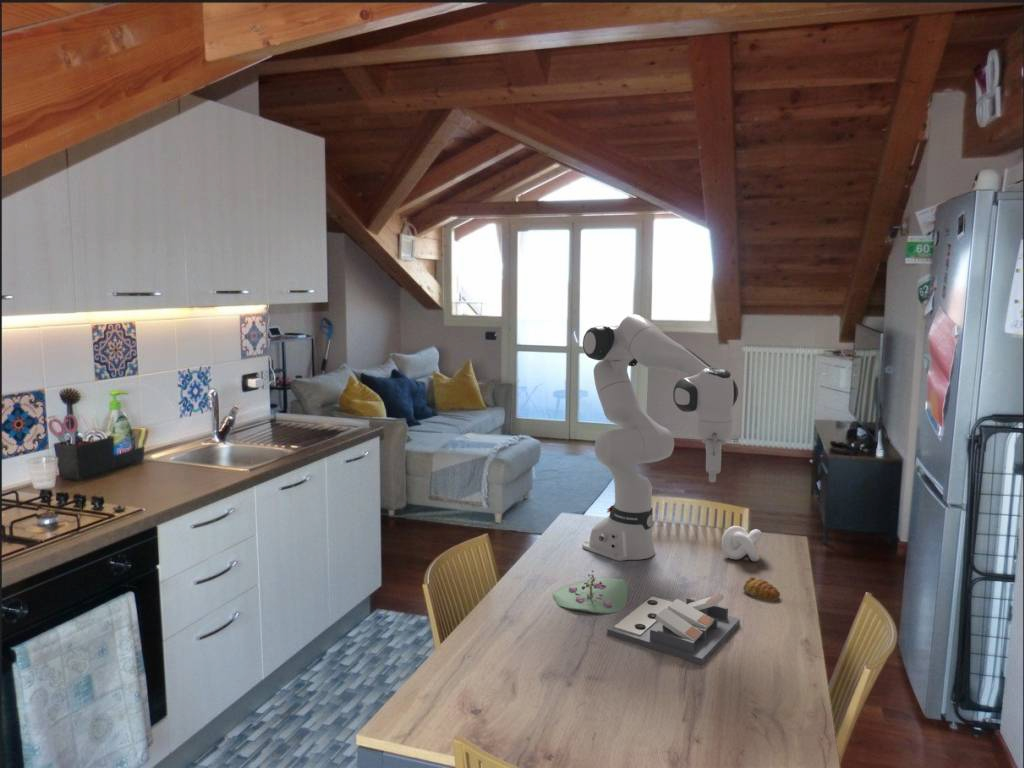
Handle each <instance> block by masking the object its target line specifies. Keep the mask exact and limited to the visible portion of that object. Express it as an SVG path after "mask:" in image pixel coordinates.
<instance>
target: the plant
mask: <svg viewBox="0 0 1024 768" xmlns="http://www.w3.org/2000/svg"><path fill="white" fill-rule="evenodd" d="M593 572H594V570H592V569H591V573H593ZM587 576H588V577H590V578H589V579H587V580H584V581H581V582H577V583H573V584H570V585H569V584H568V585H566V586H562V587H560V588H558V589H557V590H555V591H554V592H553V593H552V598H553V600H554V601H555V603H556V604H557V605H558V606H559V607H561V608H563V609H564V608H565V609H568V610H575V611H581V612H587V613H591V614H592V613H593V614H599V615H600V614H601V615H603V614H609V615H610V614H615V613H618V612H619V611H622V610H624V609H625V608H626V606H627V605H626V604H627V600H628V597H629V596H628V594H629V592H628V591H629V589H628V588H629V583H628V581H626V580H624V579H621V578H620V579H618V578H605V577H603V578H602V577H600V578H597V577H595V576H594V574H591V575H590V573H588V575H587Z"/></svg>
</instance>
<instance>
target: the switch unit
mask: <svg viewBox="0 0 1024 768" xmlns="http://www.w3.org/2000/svg"><path fill="white" fill-rule="evenodd" d="M698 600H699V599H696V598H691V597H686V604H688V603H691V602H695V601H698ZM674 601H675V600H673V599H669V598H665V597H662V596H658V595H654V594H650V595H648V597H645V599H644V600H642V601H641V602H640V603H638V604H637V605H636V606H635V607H633V608H632V609H631V610H629V611H628V612H627V613H626V614H624V615H623V616H622V617H621V618H619V619H618V620H616V622H614V623H613V624H611V625H610V626H609V627H608V628H607V629H606V635H607V636H609V637H613V638H616V639H619V640H623V641H625V642H629V643H631V644H635V645H638V646H640V647H644V648H648V649H651V650H653V651H656V652H660V653H663V654H666V655H669V656H673V657H675V658H679V659H681V660H685V661H688V662H691V663H694V664H698V665H700V666H703V665H704V664H705V663H706V661H708V660H709V658H710V657H711V656H712V655H713V654H714V653H715V652H716V651H717V650H718V648H719V647H721V645H722V644H723V643H724V642H725V641H726V640H727V639H728V638H729V637H730V635H732V634H733V632H734V631H736V629H737V628H738V627H739V626H740V623H741V618H738V617H735V616H732V615H729V607H725V606H721V605H718V604H717V605H716V606H712V607H709V608H705V609H702V610H698V611H700V612H702V613H704V614H706V615H707V616H709V617H711V618H713V619H714V622H713V624H712V625H711V626H710V627H709V628H708V629H707V630H706V629H702V628H699V627H696V626H694V625H692V624H691V623H689V622H688V623H689V624H691V625H692V626H694V627H695V628H697V629H698V630H700V631H701V632H702V634H701V636H700V637H699V638H698V639H697V640H696V641H691V640H688V639H685V638H681V637H680V636H678V635H677V634H676V633H674V632H673V631H671V630H670V629H668V628H667V627H665V626H664V625H662V624H661V623H659V622H658V621H656V620H655V617H656V615H657V614H659V613H660V612H661V611H662V610H663V609H665V608H667V609H668V606H669V605H670V604H671V603H673V602H674ZM686 622H687V621H686Z"/></svg>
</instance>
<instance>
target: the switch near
mask: <svg viewBox="0 0 1024 768" xmlns="http://www.w3.org/2000/svg"><path fill="white" fill-rule="evenodd" d="M655 620H656V621H658V622H659V623H661V624H662V625H664V626H665V627H667V628H668V629H670V630H671V631H673V632H674V633H676V634H677V635H678V636H680V637H681V638H685V639H688V640H691V641H696V640H697V639H698V638H699V637H700V636H701V634H702V632H701V631H700V630H698V629H697V628H695V627H694V626H692V625H691V624H689V623H688V622H686V621H685V620H683V619H682V618H680V617H679V616H677V615H676V614H674V613H673V612H671V611H670V610H668V609H667V608H665V609H663V610H662V611H661V612H660V613H659V614H657V615H656V617H655Z"/></svg>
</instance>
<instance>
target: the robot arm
mask: <svg viewBox="0 0 1024 768" xmlns="http://www.w3.org/2000/svg"><path fill="white" fill-rule="evenodd" d="M582 339H583V340H582V349H583V351H584V353H585V355H586V357H588V358H590V360H594V361H598V362H597V363H596V364H595V365H594V367H593V378H594V385H595V388H596V392H597V396H598V400H599V403H600V404H601V408H602V411H603V413H604V416H605V418H606V419H607V420H608V421H609V422H611V423H613V424H615V425H617V426H619V427H620V428H617V429H616V428H615V429H611V430H607V431H605V432H601V433H600V434H599V435H598V436H597V437H596V440H595V443H594V453H595V454H594V455H595V456H596V458H597V460H598V461H599V462H600V463H601V464H602V465H603V466H605V467H606V468H607V469H608V471H609V472H610V473H611V474H610V475H611V477H612V479H613V485H614V503H613V505H610V506H609V508H606V513H609V516H607V517H605V518H603V519H602V520H601V521H599V522H597V523H596V524H595V525H594V526H592V527H593V528H592V529H591V530H590V531H591V532H590V536H589V537H587V539H585V540H584V541H583V542H582V549H585V550H587V551H590V552H592V553H595V554H598V555H601V556H603V557H606V558H608V559H612V560H614V561H618V562H619V561H620V562H621V561H627V560H629V561H630V560H632V561H633V560H635V561H636V560H644V559H645V560H646V559H650V558H652V557H653V556H655V554H656V551H655V545H654V541H653V535H652V533H653V531H652V526H653V520H654V519H653V511H654V510H653V507H652V495H653V494H652V493H653V492H652V491H653V486H652V484H651V481H650V480H649V479H648V478H647V477H646V476H644V475H642V474H640V473H639V472H638V465H639V464H648V463H656V462H659V461H662V460H665V459H667V458H669V457H670V456H671V455H672V453H673V452H674V448H675V439H674V437H673V434H672V433H671V431H670V430H669V429H668V428H666V427H665V426H662V425H660V424H659V423H657V422H656V421H655V420H653V419H652V417H651V416H650V415H648V414H647V412H646V411H645V410H644V409H643V407H642V405H641V404H640V401H639V399H638V397H637V394H636V392H635V389H634V387H633V384H632V381H631V378H630V376H629V373H628V368H629V367H635V366H637V364H638V363H639V364H641V365H642V366H643V367H646V368H647V369H652V370H664V371H673V372H677V373H682V374H684V375H686V377H683V378H680V379H679V380H677V381H676V384H675V385H674V387H673V392H672V395H673V401H674V404H675V406H676V407H677V408H678V409H679V410H680V411H681V412H686V413H697V431H696V436H697V437H699V438H701V442H702V444H704V446H705V471H706V473H708V482H709V483H715V482H716V481H717V474H720V473H721V468H722V447H723V446H724V445H726V444H727V440H729V439H731V438H732V437H733V436H732V435H733V415H732V409H733V406H734V405H735V403H736V402H737V399H738V396H739V389H738V386H737V383H736V381H735V380H734V379H733V376H732V373H731V372H729V371H728V370H726V369H724V368H720V367H714V366H712V365H710V364H709V363H708V362H707V361H705V360H704V359H702V358H701V357H700V356H699V355H697V354H695V353H694V352H693V351H692V350H690V349H689V348H687V347H685V346H683V345H681V344H680V343H678V342H677V341H675V340H673V339H672V338H671V337H669V336H668V335H666V334H665V333H664V332H663V331H661V329H660V328H659V327H658V326H656V325H655V324H654V323H653V322H651V321H650V320H649V319H648V318H646V317H644V316H642V315H639V314H630V315H628V316H626V317H625V318H623V319H622V321H621V322H620V324H619V325H607V326H604V325H598V326H593V327H590V328H588V329H587V330H586V331H585V334H584V336H583V338H582ZM687 376H688V377H687Z"/></svg>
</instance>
